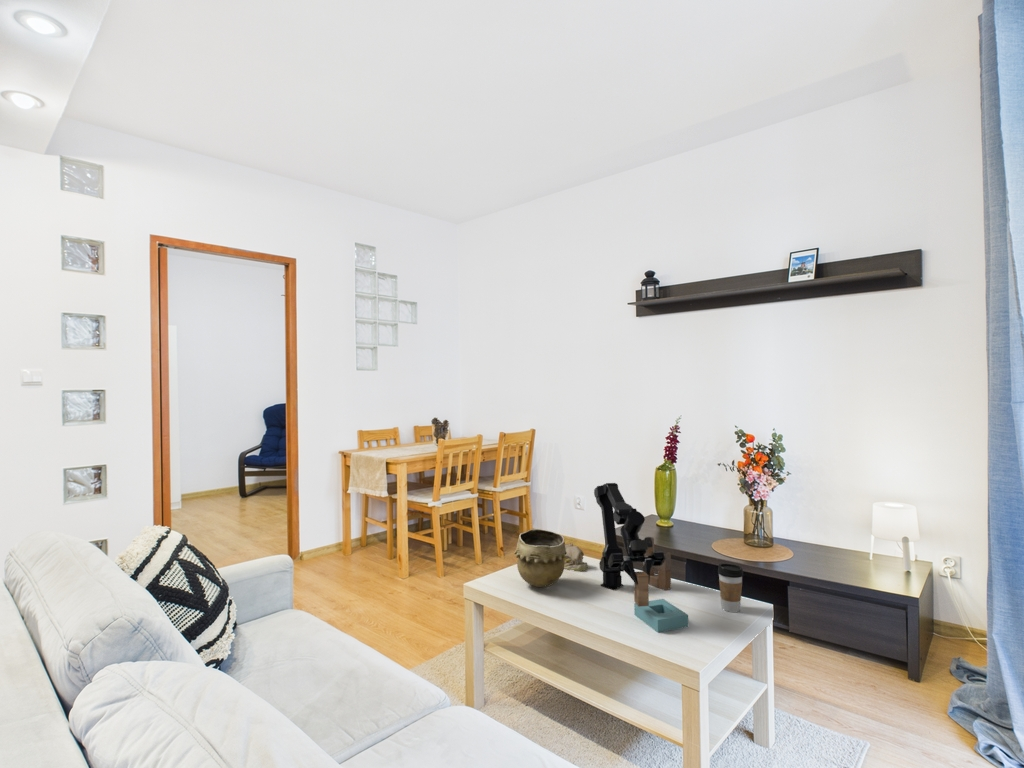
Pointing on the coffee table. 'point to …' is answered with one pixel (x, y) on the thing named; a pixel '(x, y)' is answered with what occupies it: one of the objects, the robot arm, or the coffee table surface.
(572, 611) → the coffee table surface
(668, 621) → the teal square hole block
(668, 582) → the wooden block
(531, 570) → the clay pot
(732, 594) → the coffee cup
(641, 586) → the square peg
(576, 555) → the ceramic model
